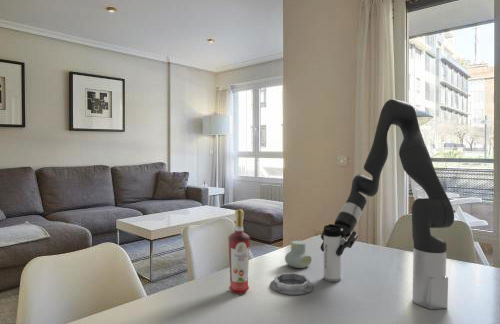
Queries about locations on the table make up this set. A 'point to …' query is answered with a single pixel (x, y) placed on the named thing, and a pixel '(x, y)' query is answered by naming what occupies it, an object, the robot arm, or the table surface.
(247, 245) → the liquor
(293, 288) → the collar
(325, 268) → the travel mug
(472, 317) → the table surface
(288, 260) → the air freshener
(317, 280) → the table surface
